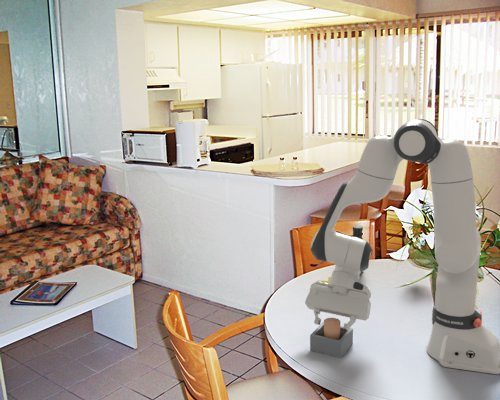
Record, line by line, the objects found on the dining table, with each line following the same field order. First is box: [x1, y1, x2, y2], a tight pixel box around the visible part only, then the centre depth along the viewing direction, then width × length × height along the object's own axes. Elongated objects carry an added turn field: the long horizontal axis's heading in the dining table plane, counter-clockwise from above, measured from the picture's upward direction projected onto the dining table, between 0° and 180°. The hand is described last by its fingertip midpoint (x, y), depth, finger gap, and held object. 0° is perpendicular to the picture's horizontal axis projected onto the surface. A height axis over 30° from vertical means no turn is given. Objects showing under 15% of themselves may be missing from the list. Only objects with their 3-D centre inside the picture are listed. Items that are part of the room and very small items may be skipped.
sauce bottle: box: [352, 224, 364, 273], centre depth 229 cm, size 7×6×20 cm
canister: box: [323, 317, 341, 340], centre depth 169 cm, size 5×5×8 cm
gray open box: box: [309, 321, 354, 359], centre depth 169 cm, size 10×10×5 cm
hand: (331, 327), depth 168 cm, fingers open, 8 cm apart
